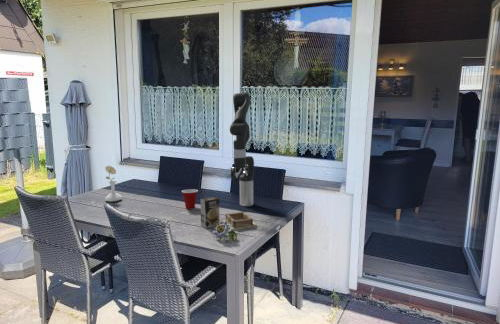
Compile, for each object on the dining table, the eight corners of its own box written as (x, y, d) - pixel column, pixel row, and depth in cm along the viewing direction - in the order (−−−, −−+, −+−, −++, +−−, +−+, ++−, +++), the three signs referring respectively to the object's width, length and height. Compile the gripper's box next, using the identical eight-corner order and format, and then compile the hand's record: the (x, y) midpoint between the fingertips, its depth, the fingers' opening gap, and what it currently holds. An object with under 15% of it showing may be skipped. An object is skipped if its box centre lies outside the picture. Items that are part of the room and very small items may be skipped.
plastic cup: (198, 204, 251) (197, 187, 248) (198, 209, 240) (198, 191, 238) (182, 205, 249) (181, 188, 247) (181, 210, 238) (181, 192, 236)
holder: (221, 221, 218) (221, 214, 217) (246, 218, 223) (246, 211, 223) (230, 230, 203) (230, 222, 202) (257, 226, 209) (257, 219, 208)
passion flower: (219, 250, 190) (207, 231, 191) (232, 240, 198) (219, 221, 199) (232, 243, 183) (219, 223, 183) (245, 233, 191) (232, 214, 192)
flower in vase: (125, 200, 263) (123, 165, 258) (111, 203, 254) (108, 168, 249) (114, 197, 270) (112, 163, 266) (100, 200, 261) (97, 166, 257)
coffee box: (206, 228, 206) (205, 201, 203) (200, 225, 211) (199, 198, 208) (220, 225, 211) (219, 198, 208) (214, 222, 216) (213, 195, 213)
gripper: (243, 154, 231) (244, 180, 233) (227, 157, 221) (228, 184, 223) (252, 155, 226) (253, 181, 228) (236, 158, 216) (237, 185, 218)
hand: (240, 182), depth 226 cm, fingers open, 8 cm apart
